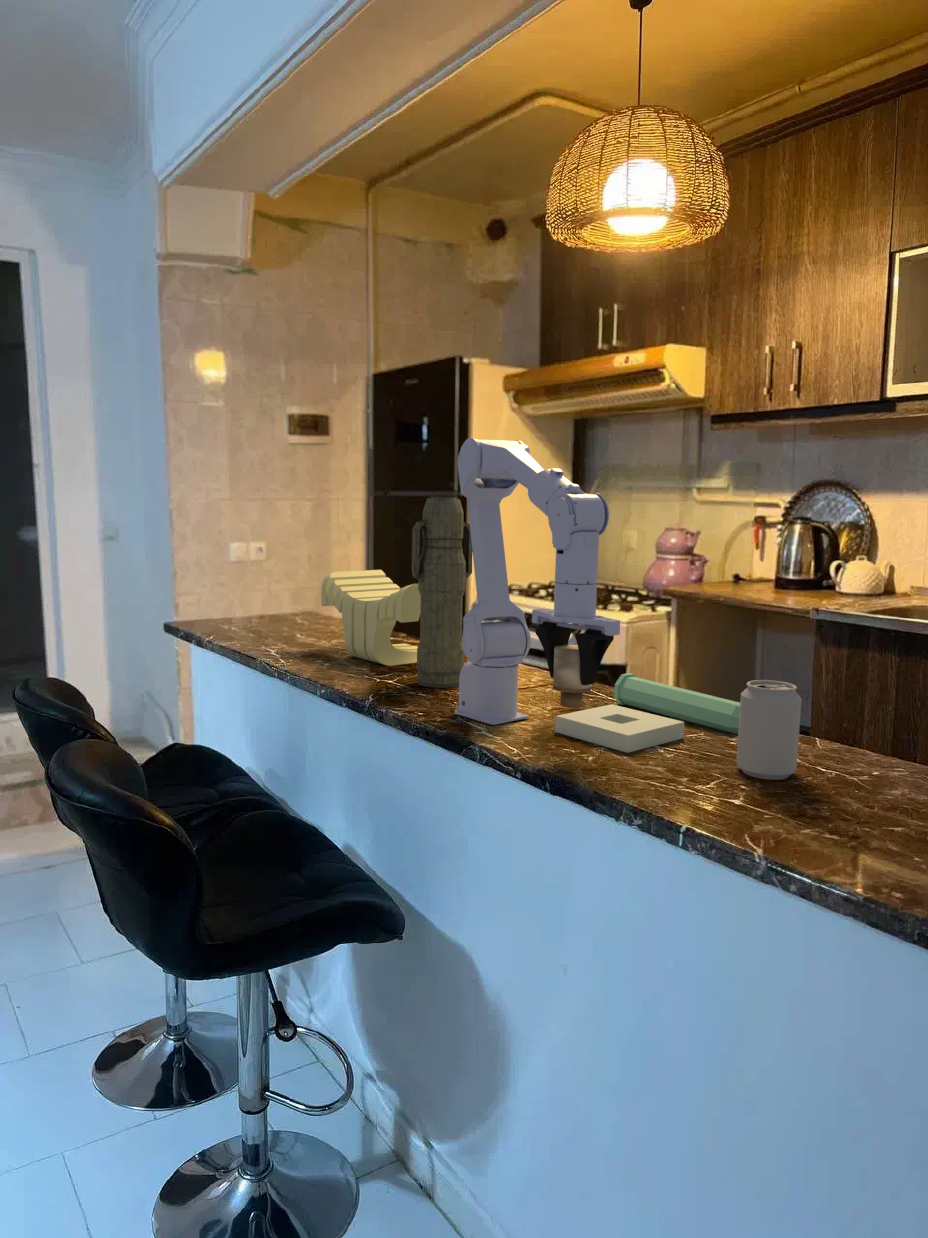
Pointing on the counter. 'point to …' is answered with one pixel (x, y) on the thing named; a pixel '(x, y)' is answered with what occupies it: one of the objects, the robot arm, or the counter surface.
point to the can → (769, 729)
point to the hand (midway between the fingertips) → (572, 680)
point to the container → (678, 703)
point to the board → (619, 727)
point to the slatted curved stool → (372, 613)
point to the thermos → (441, 589)
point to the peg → (568, 675)
